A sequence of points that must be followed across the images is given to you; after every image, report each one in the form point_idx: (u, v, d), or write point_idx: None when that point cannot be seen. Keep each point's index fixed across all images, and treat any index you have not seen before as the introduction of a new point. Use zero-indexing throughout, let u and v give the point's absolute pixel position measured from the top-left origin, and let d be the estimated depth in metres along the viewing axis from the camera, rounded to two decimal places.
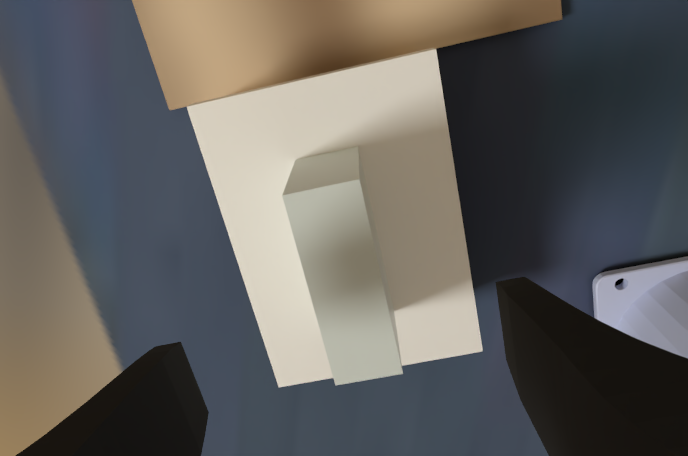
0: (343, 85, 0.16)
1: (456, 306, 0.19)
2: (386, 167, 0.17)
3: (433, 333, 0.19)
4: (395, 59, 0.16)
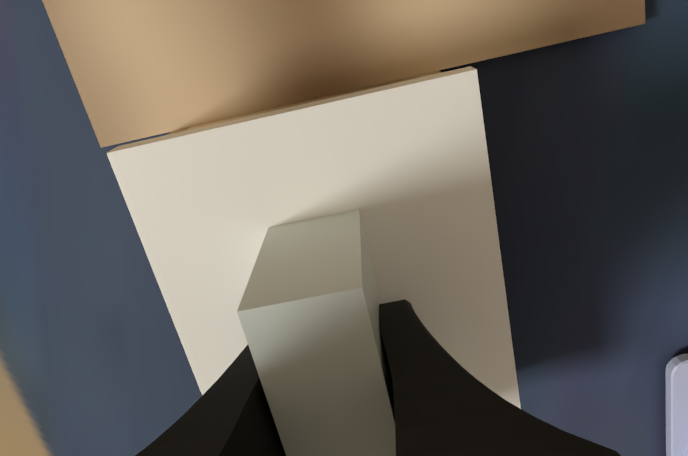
0: (337, 122, 0.11)
1: None
2: (400, 238, 0.12)
3: None
4: (415, 84, 0.11)
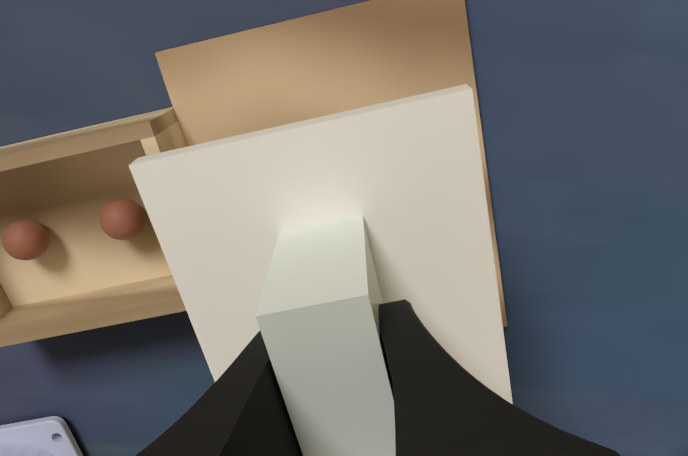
0: (343, 137, 0.12)
1: None
2: (401, 242, 0.13)
3: None
4: (415, 102, 0.11)
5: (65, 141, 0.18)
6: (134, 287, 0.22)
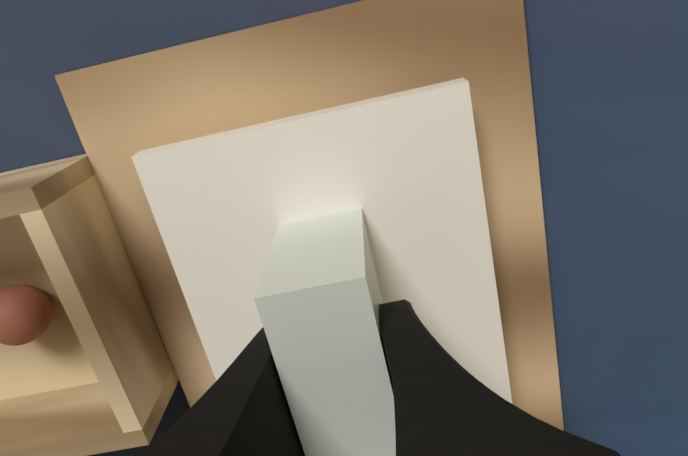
0: (342, 129, 0.12)
1: None
2: (399, 234, 0.13)
3: None
4: (412, 94, 0.12)
5: None
6: (44, 401, 0.16)
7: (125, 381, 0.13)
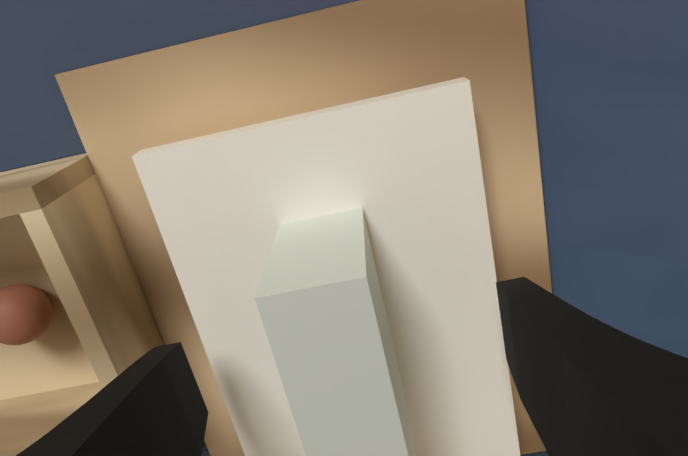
0: (343, 128, 0.12)
1: (488, 405, 0.15)
2: (400, 234, 0.13)
3: (458, 436, 0.15)
4: (413, 94, 0.12)
5: None
6: (44, 401, 0.16)
7: None
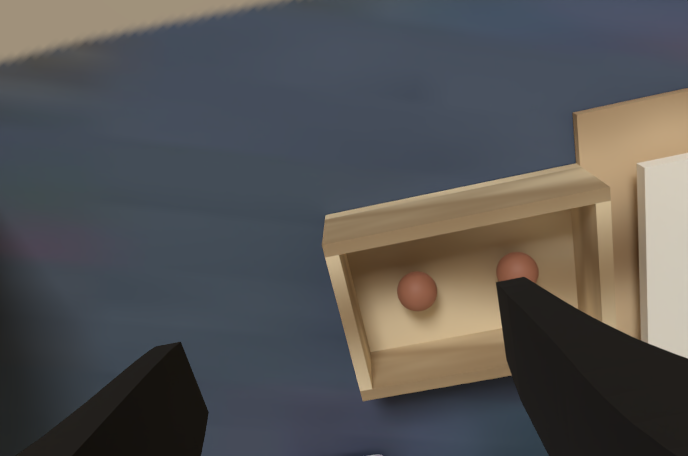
0: None
1: None
2: None
3: None
4: None
5: (521, 205, 0.19)
6: None
7: (613, 313, 0.20)
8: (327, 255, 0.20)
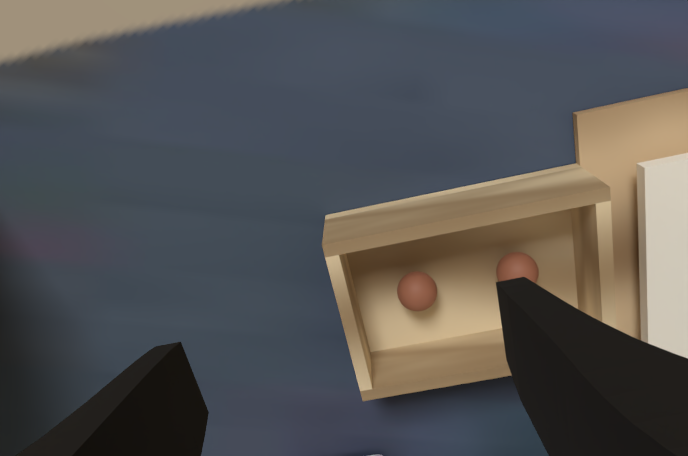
0: None
1: None
2: None
3: None
4: None
5: (521, 205, 0.19)
6: None
7: (613, 313, 0.20)
8: (327, 255, 0.20)
